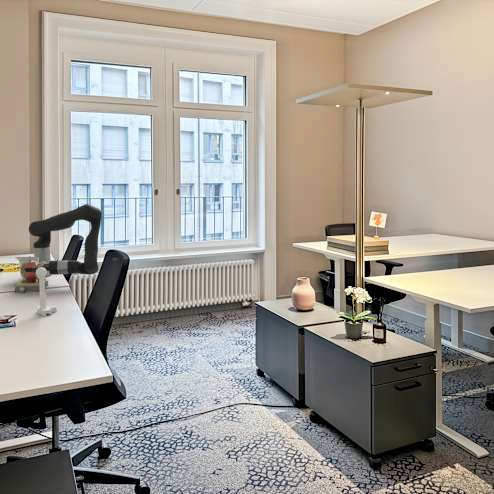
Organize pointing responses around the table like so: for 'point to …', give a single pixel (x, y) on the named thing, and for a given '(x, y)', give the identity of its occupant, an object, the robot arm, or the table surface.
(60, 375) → the table surface
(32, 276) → the spout can
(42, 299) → the joystick
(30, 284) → the grey tray
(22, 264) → the pitcher
